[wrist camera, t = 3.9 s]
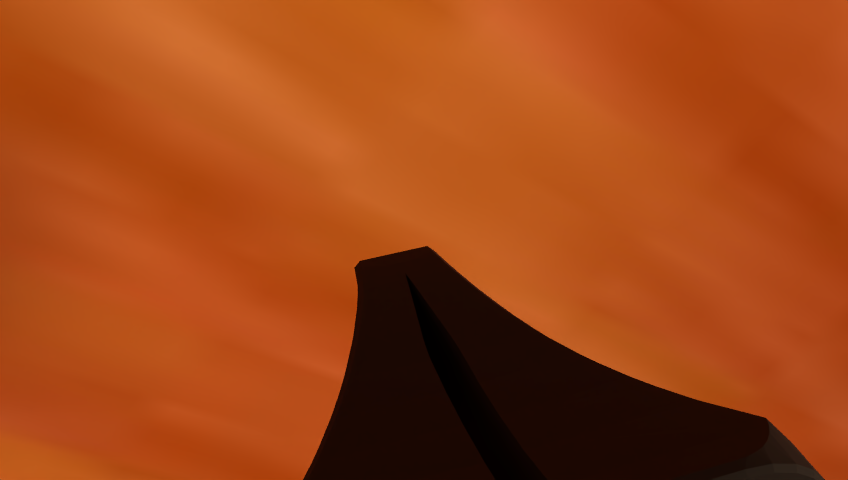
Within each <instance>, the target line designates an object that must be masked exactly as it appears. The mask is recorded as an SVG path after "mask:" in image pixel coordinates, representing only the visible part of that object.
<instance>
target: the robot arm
mask: <svg viewBox="0 0 848 480" xmlns="http://www.w3.org/2000/svg"><path fill="white" fill-rule="evenodd" d="M355 273H356V279H357V284H358V301H357V313H356V321H355V328H354V336H353V341H352V346H351V350H350V355H349V359H348V363H347V368H346V372H345V376H344V379H343V383H342V386H341V390H340V393H339V396H338V399H337V402H336V405H335V408H334V411H333V414H332V416H331V419H330V421H329V424H328V426H327V429H326V431H325V434H324V436H323V439H322V441H321V444H320V446H319V448H318V450H317V453H316V455H315V457H314V459H313V461H312V463H311V465H310V467H309V469H308V471H307V473H306V475H305V477H304V479H303V480H825V479H824V478H823V477H822V476H821V475H820V474H819V473H818V472H817V471H816V470H815V468H814V467H813V466H812V465H811V464H810V463H809V462H808V461H807V460H806V458H805V457H804V456H803V455H802V454H801V453H800V451H799V450H798V449H797V448H796V447H795V446H794V445H793V444H792V443H791V441H789V440H788V439H787V438H786V437H785V436H784V435H783V434H782V433H781V432H780V431H779V430H778V429H777V428H776V427H775V426H774V425H773V424H772V423H771V422H769V421H768V420H767V419H766V418H764V417H760V416H756V415H753V414H749V413H745V412H741V411H737V410H733V409H729V408H726V407H722V406H718V405H714V404H710V403H706V402H702V401H699V400H696V399H692V398H689V397H686V396H683V395H680V394H677V393H674V392H671V391H668V390H665V389H662V388H659V387H656V386H653V385H651V384H648V383H645V382H643V381H640V380H637V379H635V378H632V377H630V376H627V375H625V374H623V373H620V372H618V371H616V370H613V369H611V368H609V367H606V366H604V365H602V364H599V363H597V362H595V361H593V360H591V359H589V358H587V357H584V356H582V355H580V354H578V353H576V352H574V351H573V350H571V349H569V348H567V347H565V346H563V345H561V344H560V343H558V342H556V341H554V340H552V339H550V338H548V337H547V336H545V335H543V334H542V333H540V332H539V331H537V330H535V329H534V328H532V327H531V326H529V325H528V324H526V323H525V322H523V321H522V320H520V319H519V318H517V317H516V316H514V315H513V314H511V313H510V312H508V311H507V310H506V309H504V308H503V307H501V306H500V305H499V304H497V303H496V302H495V301H494V300H492V299H491V298H490V297H488V296H487V295H486V294H484V293H483V292H482V291H480V290H479V289H478V288H477V287H475V286H474V285H473V284H472V283H470V282H469V281H468V280H467V279H466V278H464V277H463V276H462V275H461V274H460V273H458V272H457V271H456V270H455V269H454V268H453V267H451V266H450V265H449V264H448V263H447V262H446V261H445V260H444V259H443V258H441V257H440V256H439V255H438V254H437V253H436V252H435V251H434V250H432V249H431V248H429V247H428V246H425V247H421V248H416V249H412V250H407V251H403V252H398V253H394V254H389V255H385V256H380V257H376V258H371V259H367V260H362V261H360V262H359V263H358V264H357V265H356V267H355Z"/></svg>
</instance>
